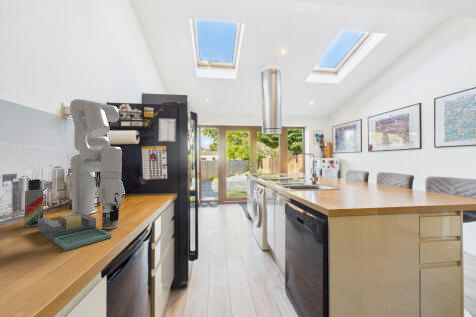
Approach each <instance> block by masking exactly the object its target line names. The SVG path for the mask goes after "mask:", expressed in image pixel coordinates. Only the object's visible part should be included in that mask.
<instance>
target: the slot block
mask: <svg viewBox="0 0 476 317" xmlns="http://www.w3.org/2000/svg"><path fill="white" fill-rule="evenodd" d="M73 213H74V214H76V215H80V216H81V225H80V226H75V227H71V228H65V227H63V226H62V225H61V224H59V223H58V222H59V219H56V220H55V219H54V220H53V219H51V218H49V217H47V216H43V218H38V226H37V232H38V233H40V234H41V235H43V236H44V237H45V238H47V239H48V240H49V241H50V242H53V239H54V238H55V237H60V236H64V235H68V234H72V233H76V232H81V231H85V230H89V229H93V228H97V218H96V217H94V216H90V215H86V214H83V213H80V212H73ZM53 243H54V242H53Z"/></svg>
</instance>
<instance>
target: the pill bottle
mask: <svg viewBox="0 0 476 317" xmlns="http://www.w3.org/2000/svg"><path fill="white" fill-rule="evenodd" d="M113 207H114V205H113ZM104 208H105V209H104V210H103V209H102V214H101V217H102V218H101V219H102V220H101V221H102V222H101V227H102V230H111V229H115V228H118V227H119V219H118V220H116V221H110V211H111V208H110V205H107V204H104Z"/></svg>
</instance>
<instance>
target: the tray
mask: <svg viewBox="0 0 476 317" xmlns="http://www.w3.org/2000/svg"><path fill="white" fill-rule="evenodd" d="M108 239H112V233H111V232H108V231H106V230H105V229H103V228H102V229H101V228H99V227H96V228H93V229H89V230H85V231H81V232H76V233H72V234H68V235H64V236H60V237H55V238H54V239H53V243H54V244H55V245H56V246H58V247H59V248H61V249H62V250H63V251H64V252H67V251H71V250H76V249H77V248H81V247H85V246H88V245H92V244H95V243H99V242H103V241H105V240H108Z"/></svg>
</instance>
